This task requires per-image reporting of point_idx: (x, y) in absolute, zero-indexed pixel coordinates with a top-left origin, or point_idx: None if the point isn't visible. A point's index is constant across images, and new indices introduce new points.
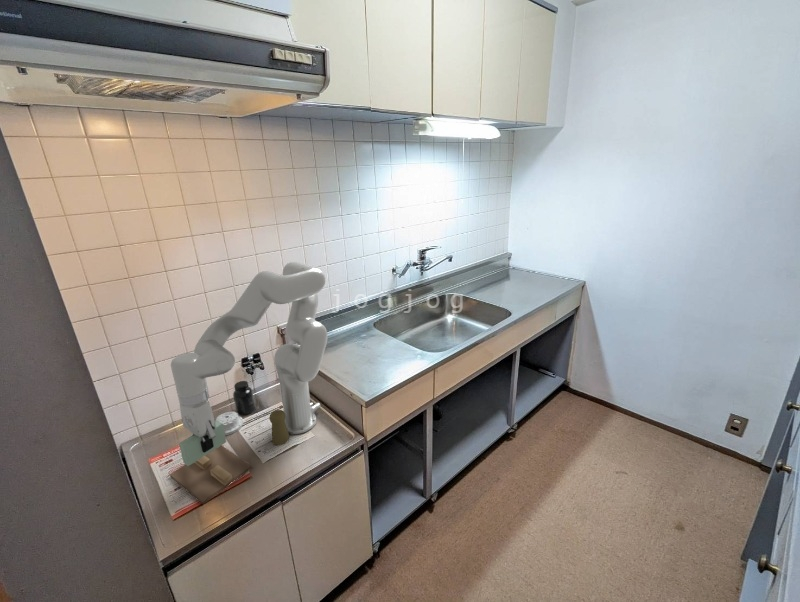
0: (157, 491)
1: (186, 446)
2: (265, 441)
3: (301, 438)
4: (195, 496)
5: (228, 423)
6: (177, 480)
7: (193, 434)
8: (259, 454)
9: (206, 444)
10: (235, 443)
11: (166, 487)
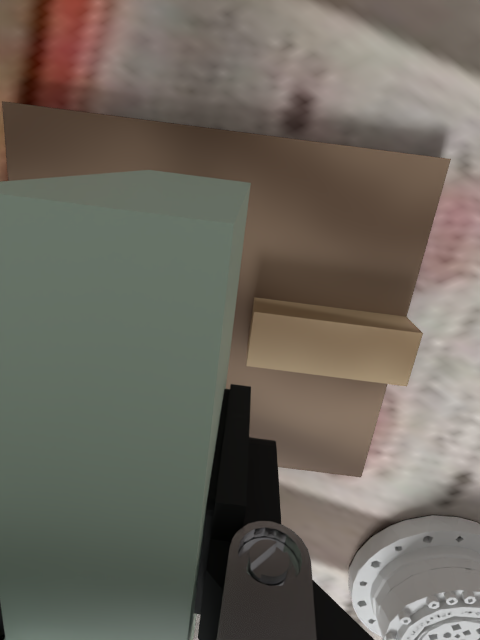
0: (416, 16)
1: None
2: None
3: None
4: (101, 114)
5: (402, 614)
6: (342, 147)
7: (298, 553)
8: None
9: None
10: (280, 506)
11: (383, 78)
